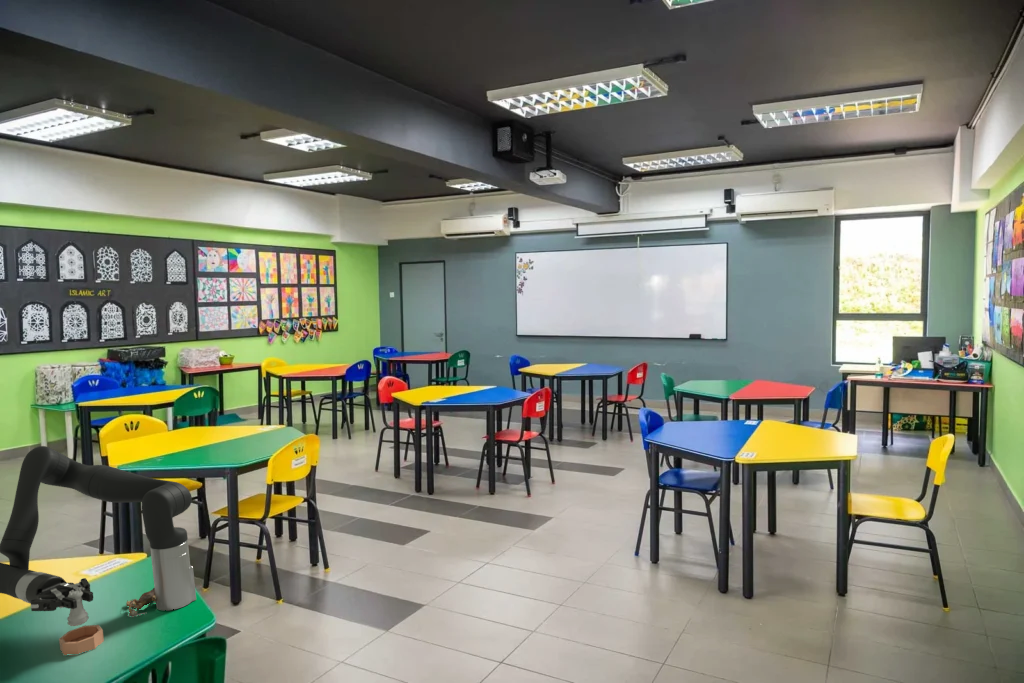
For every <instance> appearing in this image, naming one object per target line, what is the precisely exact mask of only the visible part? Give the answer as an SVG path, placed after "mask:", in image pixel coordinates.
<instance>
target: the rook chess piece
mask: <svg viewBox="0 0 1024 683" xmlns="http://www.w3.org/2000/svg"><path fill="white" fill-rule="evenodd" d="M75 590H76V591H74V590H71V591H70V592H69V595H68V597H69V598H73V599H76V601H77V608H75V609H71V608H70V609H69V610H70V611H69V614H68V616H67V618H66V620H67V625H68V626H70V627H77V626H81V625H83V624H85V623H86V622H88V620H89V618H90V617H89V616H88V615H89V613H88V612H87V611H86V609H85V608H84V604H83V601H84V600H83V598H82V595H83V592H82V591H81V589H79V590H78V589H75Z"/></svg>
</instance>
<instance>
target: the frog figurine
mask: <svg viewBox="0 0 1024 683" xmlns="http://www.w3.org/2000/svg"><path fill="white" fill-rule="evenodd" d="M152 602H153V603H156V597H155V587H153V588H152V589H151V590H149V591H146V592H144V593H142V594H141V595H140V597H139V598H138V599H137V598H133V599H130V600H127V601H126V606H129V608H128V610H129V612H130V613H129V616H128V617H130V616H132V617H131V618H135V617H134V616H136V617H138V616H137V615H139V616H142V615H141V614H144V615H146V614H145V613H146V612H141V613H138V611H135V610H133V609H134V608H137V610H139V609H141V608H142V607H143V606H144V605H147V604H149V603H152ZM149 605H150V604H149Z"/></svg>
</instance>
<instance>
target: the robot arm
mask: <svg viewBox="0 0 1024 683" xmlns="http://www.w3.org/2000/svg"><path fill="white" fill-rule="evenodd" d="M41 484H43V485H47V486H52V487H53V486H54V487H61V488H67V489H70V490H71V489H73V490H75V491H77V492H78V493H81V494H83V495H85V496H87V497H91V498H94V499H96V500H100V501H103V502H106V503H115V504H116V503H118V504H119V503H121V504H122V503H123V504H124V503H141V514H142V519H143V520H142V522H143V526H144V531H145V532H144V533H145V535H146V538H147V539H148V542H149V546H150V547H149V548H150V558H151V566H152V577H153V586H154V587H155V597H156V602H155V603H156V605H155V607H156V610H159V611H163V612H164V611H165V610H166V611H173V609H174V610H177V609H180V608H183V607H186V606H188V605H189V604H191V603H192V602H194V601H197V593H196V585H195V584H196V583H195V574H194V567H193V565H191V559H190V550H189V548H190V547H189V539H188V532H187V530H186V529H185V528H184V527H179V526H177V527H176V526H175V527H174V520H173V518H175V517H176V516H177V517H178V516H179V515H181V514H183V513H184V512H185V511H187V510H188V509H189V508H190V506H191V505H192V502H193V501H192V500H193V498H192V494H191V492H190V490H189V489H188V488H187V487H186V486H185V485H184V484H181V483H180V482H176V481H171V480H165V479H157V478H152V477H148V476H144V475H140V474H138V473H134V472H130V471H125V470H123V469H119V468H117V467H112V466H111V465H110V466H109V465H105V464H94V465H92V464H91V465H87V464H84V463H81V462H78V461H76V460H74V459H72V458H69V457H68V456H67V455H65V454H63V453H61V452H59V451H58V450H55V449H54V448H51V447H48V446H45V445H40V446H37V447H34V448H32V449H31V450H29V452H28V453H27V454H26V455H25V457H24V458H23V460H22V463H21V467H20V471H19V476H18V481H17V485H16V490H15V496H14V499H13V500H14V501H13V506H12V510H11V513H10V515H9V516H10V517H9V520H8V522H7V526H6V528H5V530H4V533H3V536H2V538H1V541H0V554H1V555H2V556H5V557H6V558H8V562H9V564H7V563H4V562H0V594H3V595H7V596H10V597H12V598H15V599H19V600H22V602H24V603H28V604H30V609H31V612H54V611H56V610H57V608H60V609H63V608H65V609H69V610H70V608H71V609H75V608H77V601H76V599H73V598H69V597H68V595H69V592H70V591H71V590H74V591H76V590H75V589H78V590H79V589H81V591H82V592H83V595H82V598H83V600H82V601H85V602H88V603H89V602H90V603H91V602H92V601H94V592H93V591H91V584H90V583H89V581H88V579H87V578H81V579H80V580H79V581H78V582H76V583H74V582H67V581H66V580H65V579H64V578H63V577H61V576H58V575H55V574H51V573H48V572H43V571H34V570H31V569H29V568H30V556H31V555H30V554H31V553H30V552H31V549H32V548H31V547H32V544H33V543H34V539H35V536H36V534H37V531H38V528H39V516H40V515H39V505H38V504H39V503H38V499H39V497H38V496H39V490H40V486H41ZM154 587H153V588H154Z"/></svg>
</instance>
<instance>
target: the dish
mask: <svg viewBox="0 0 1024 683" xmlns="http://www.w3.org/2000/svg"><path fill="white" fill-rule="evenodd" d="M104 641H105V640H104V630H103V628H102V627H101V626H100V625H99V624H91V625H82V626H79V627H77V628H74V629H71V630H69V631H67V632H66V633H64V634H63V635H62V636H60V637H59V638H58V644H59V650H61V651H62V652H61V651H60V652H61V654H62V653H63V654H64V655H67V654H79V653H82V652H85V651H88V652H90V651H89V650H91V651H93V650H96V649H97V648H98V647H99V646H100V645H101V644H103V643H104ZM98 645H99V646H98ZM97 646H98V647H97ZM96 647H97V648H96ZM92 649H93V650H92ZM85 653H86V652H85ZM63 654H62V655H63ZM64 655H63V656H64Z"/></svg>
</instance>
